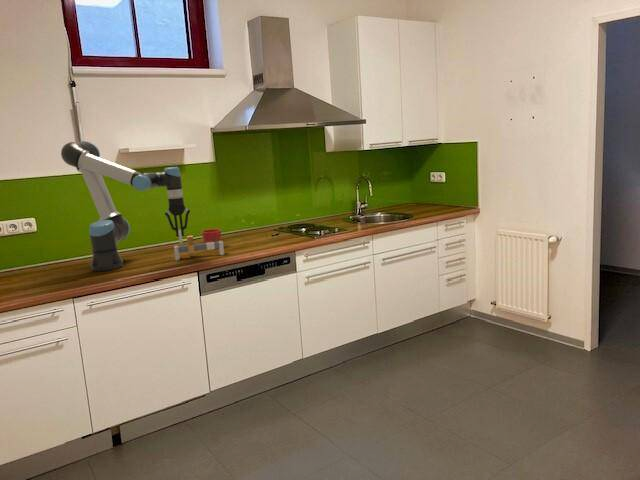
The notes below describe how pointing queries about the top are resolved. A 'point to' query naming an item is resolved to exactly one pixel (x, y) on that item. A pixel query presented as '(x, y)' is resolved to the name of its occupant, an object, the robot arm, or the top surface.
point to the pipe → (199, 248)
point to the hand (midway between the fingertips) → (181, 242)
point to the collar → (190, 245)
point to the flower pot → (211, 235)
